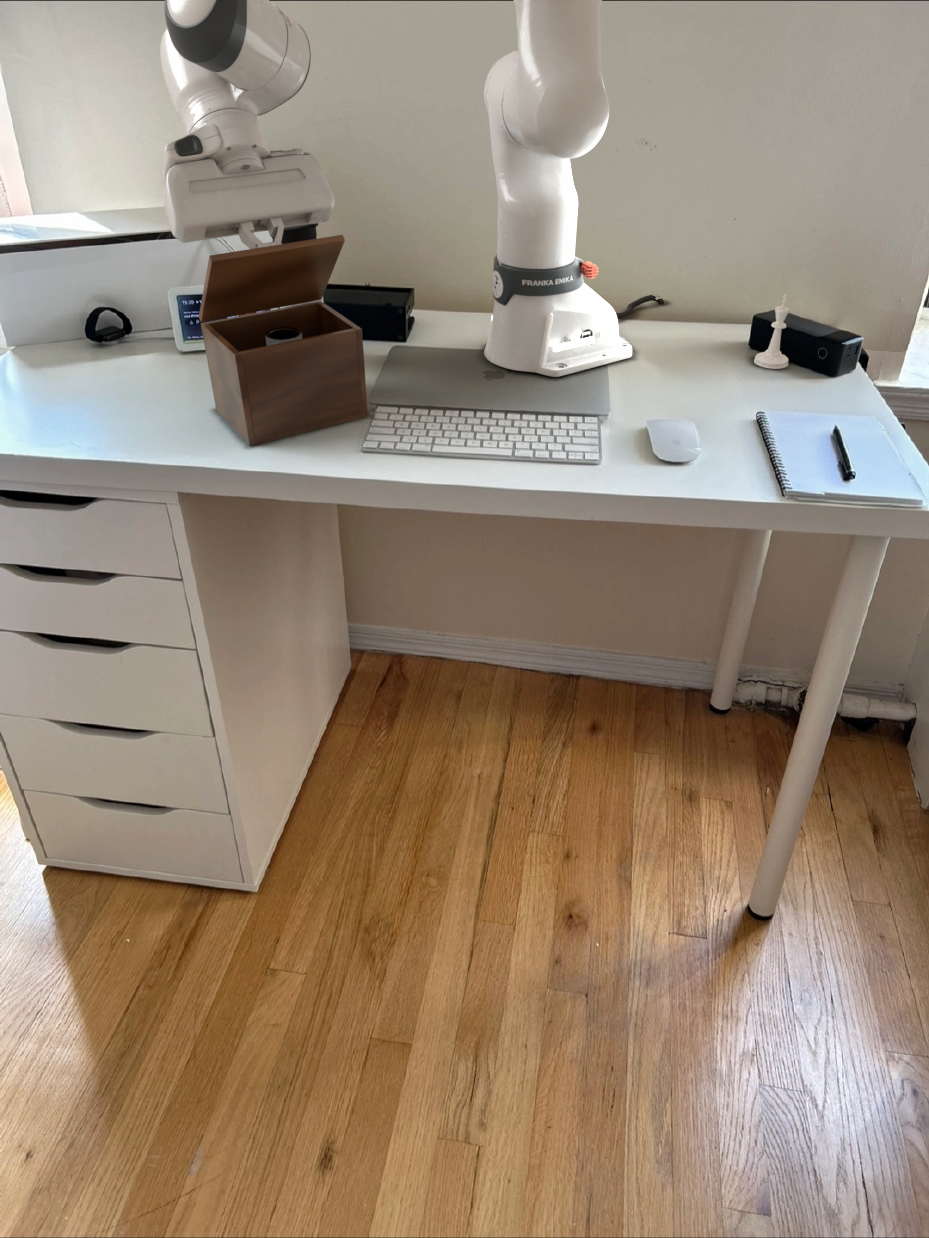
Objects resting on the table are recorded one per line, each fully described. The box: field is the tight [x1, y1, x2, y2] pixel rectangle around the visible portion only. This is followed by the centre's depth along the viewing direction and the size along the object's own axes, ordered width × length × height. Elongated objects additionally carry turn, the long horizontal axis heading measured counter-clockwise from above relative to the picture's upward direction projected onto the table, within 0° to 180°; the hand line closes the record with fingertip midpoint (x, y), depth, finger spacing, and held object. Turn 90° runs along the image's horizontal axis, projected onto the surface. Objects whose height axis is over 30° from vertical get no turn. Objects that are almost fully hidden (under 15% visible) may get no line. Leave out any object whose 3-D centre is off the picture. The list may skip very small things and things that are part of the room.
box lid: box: [198, 234, 346, 323], centre depth 111 cm, size 13×17×1 cm
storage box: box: [200, 301, 369, 447], centre depth 117 cm, size 13×17×12 cm
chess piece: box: [753, 293, 790, 370], centre depth 131 cm, size 5×5×10 cm
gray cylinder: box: [265, 327, 302, 346], centre depth 116 cm, size 4×4×10 cm
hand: (273, 260), depth 108 cm, fingers closed, pressing on box lid
